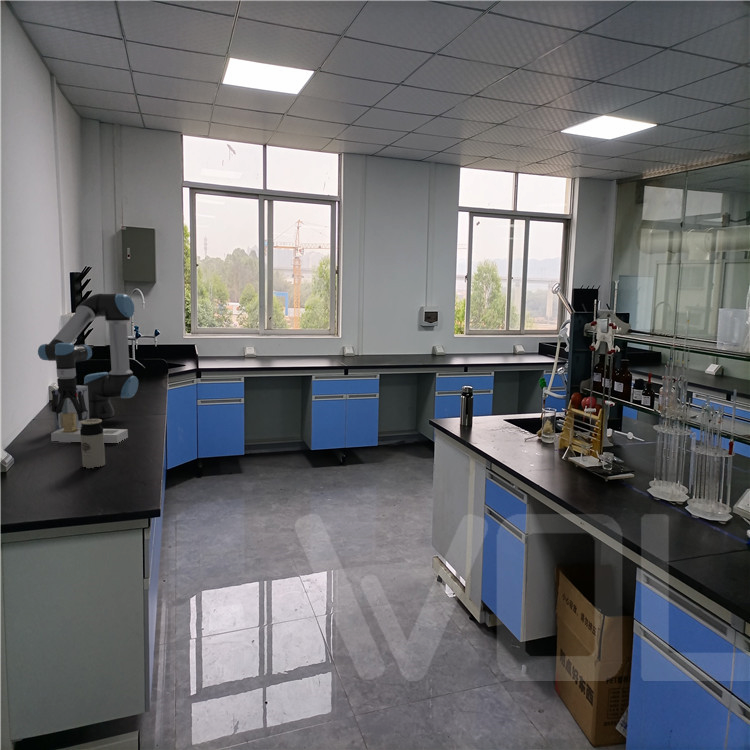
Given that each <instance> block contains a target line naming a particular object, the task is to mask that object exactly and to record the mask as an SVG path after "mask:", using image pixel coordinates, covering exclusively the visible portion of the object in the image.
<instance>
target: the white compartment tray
mask: <svg viewBox="0 0 750 750" xmlns="http://www.w3.org/2000/svg"><path fill="white" fill-rule="evenodd" d="M81 428H82V427H80V428H77V431H76V432H74V433H68V432H64V428H62V429H60V430H57V431H55V430H54V431H53V432H51V433H50V437H51V442H52V441H59V442H58V443H71V442H81V435H80V430H81ZM103 435H104V443H118V444H120V443H122V442H123V441H125V440H127V439H128V438H129V430H128V429H125V428H124V429H123V428H121V429H120V428H103ZM126 438H127V439H126ZM124 439H125V440H124ZM122 440H123V441H122ZM121 441H122V442H121ZM119 442H120V443H119Z"/></svg>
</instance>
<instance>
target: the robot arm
mask: <svg viewBox="0 0 750 750" xmlns="http://www.w3.org/2000/svg"><path fill="white" fill-rule="evenodd" d="M134 312H135V304H134V301H133V299H132V298H131V297H130V296H129V295H128V294H123V293H96V294H93V295H91V296H89V297H87V298H86V299H84V300H83V301H82V302H80V304H78V306H77V307H76V309H75V312H74V314H73V315H72V316H71V318H69V320H68V321H67V322H66V323H65V325H64V326H63V327H62V328H61V329H60V331H58V333H57V334H56V335H55V336H54V337H53V338H52V339H51V341H50V342H49V343H44V344H41V345H39V346H38V350H37V355H38V356H39V358H40V359H41V360H42V361H49V362H54V361H55V365H56V367H55V368H56V377H57V379H56V383H57V387H58V388H57V389H58V390H56V389H53V390H51V391H50V392H51V394H52V399H51V412H52V413H54V412H55V413H56V415H57V420H59V428H62V427H63V412H62V408H63V405H64V402H65V399H66V398H70V400H71V401H72V403H73V405H74V407H75V410H76V412H77V414H75V415H76V428H82V427H81V423H80V422H81V420H82V419H83V418H82V413H83V412H86V406H85V401H84V396H83V395H84V391H83V390H82V391H80V390H78V389H77V388H76V385H78V384H77V377H76V376H77V371H76V369H77V368H76V363H79V362H84V361H87V360H90V359H91V358H92V356H93V350H92V348H91V347H90V345H88V344H81V343H80V344H74V341H75V340H76V339H77V338H78V337H79V335H80V334H81V333H82V331H83V330H84V329H85V328H87V325H88V324H89V323H90V322H93V321H95V319H96V318H98V317H99V318H100V317H104V318H105V322H106V323H108V330H109V331H108V334H109V350H110V351H109V352H110V365H111V366H110V367H111V370H110V371H109V372H107V371H103V372H95V373H89V374H87V375H85V376H84V378H83V379H84V380H83V386H88V402H89V419H100V418H104V419H108V417H109V418H112V417H115V410H114V408H113V407H114V406H113V405H112V403H111V399H113V398H114V399H115V398H116V399H118V398H119V399H130V398H133V397H134V396H135V395H136V394H137V392H138V388H139V379H138V378H137V376H135V375H134V372H133V371H132V370H131V369H130V352H129V335H128V323H129V322H130V321H131V317H133V315H134ZM58 393H59V394H60V398H59V399H60V400H59V403H58ZM76 393H77V395H78V400H79V402H78V400H77V396H76Z"/></svg>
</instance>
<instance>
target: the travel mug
mask: <svg viewBox="0 0 750 750" xmlns="http://www.w3.org/2000/svg"><path fill="white" fill-rule="evenodd" d="M102 422H103V420H102V419H87V420H83V421H81V422H80V423H81V425H82V427H80V428H81V430H80V435H81V443H80V444H81V445H80V446H81V447H80V449H81V460H82V461H81V462H82V464H81V465H82V467H83V468H84V467H86V469H90V468H92V469H95V468H94V467H99V468H101V467H103V466H105V465H106V457H105V456H106V454H105V453H106V452H105V444H104V435H103V429H104V428H103V426H102ZM100 466H101V467H100Z"/></svg>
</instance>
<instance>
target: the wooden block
mask: <svg viewBox="0 0 750 750" xmlns="http://www.w3.org/2000/svg"><path fill="white" fill-rule="evenodd" d="M75 414H77V413H70V412H68V413H65V414H63V428H64V432H68V433H74V432H76V431H77V428H76V415H75Z"/></svg>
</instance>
